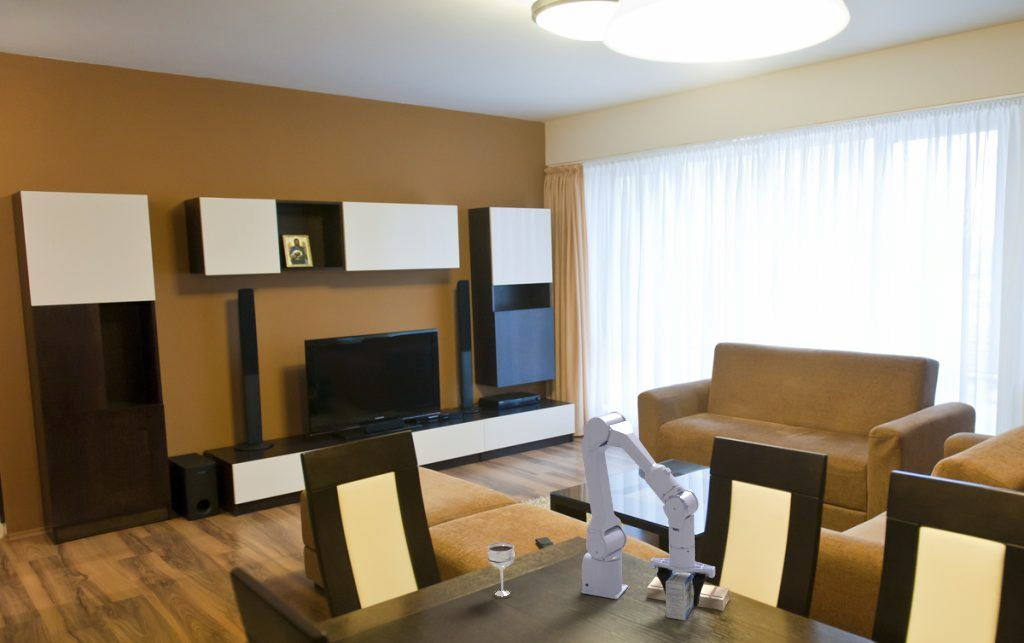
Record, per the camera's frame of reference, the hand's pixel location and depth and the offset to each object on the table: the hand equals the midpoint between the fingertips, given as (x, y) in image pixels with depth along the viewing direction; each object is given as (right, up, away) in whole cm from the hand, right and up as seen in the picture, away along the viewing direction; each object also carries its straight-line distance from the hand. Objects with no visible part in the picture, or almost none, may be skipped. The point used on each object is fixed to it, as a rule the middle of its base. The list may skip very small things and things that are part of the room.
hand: (682, 602), depth 175 cm
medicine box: (-1, -3, 0) cm, 3 cm away
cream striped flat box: (+3, -2, +8) cm, 9 cm away
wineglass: (-41, -3, +13) cm, 44 cm away
